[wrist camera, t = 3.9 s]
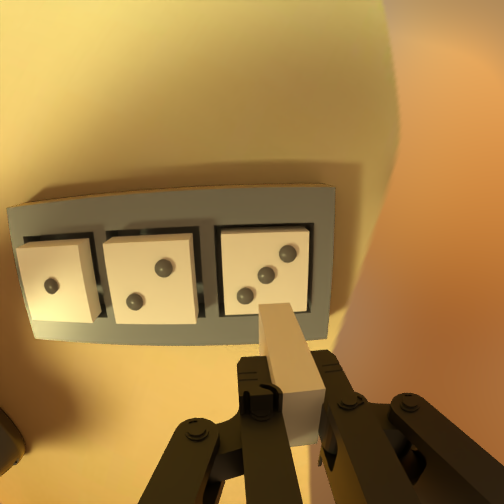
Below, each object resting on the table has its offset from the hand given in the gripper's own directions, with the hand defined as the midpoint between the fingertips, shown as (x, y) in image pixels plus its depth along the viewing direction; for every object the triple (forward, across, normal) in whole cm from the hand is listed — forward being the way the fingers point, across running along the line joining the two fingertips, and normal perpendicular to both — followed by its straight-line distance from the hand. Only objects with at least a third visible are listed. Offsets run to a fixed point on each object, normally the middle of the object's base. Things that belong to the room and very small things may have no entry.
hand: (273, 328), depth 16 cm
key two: (+8, -8, 0) cm, 11 cm away
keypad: (+11, -8, 0) cm, 13 cm away
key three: (+9, 0, 0) cm, 9 cm away
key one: (+8, -16, 0) cm, 18 cm away
